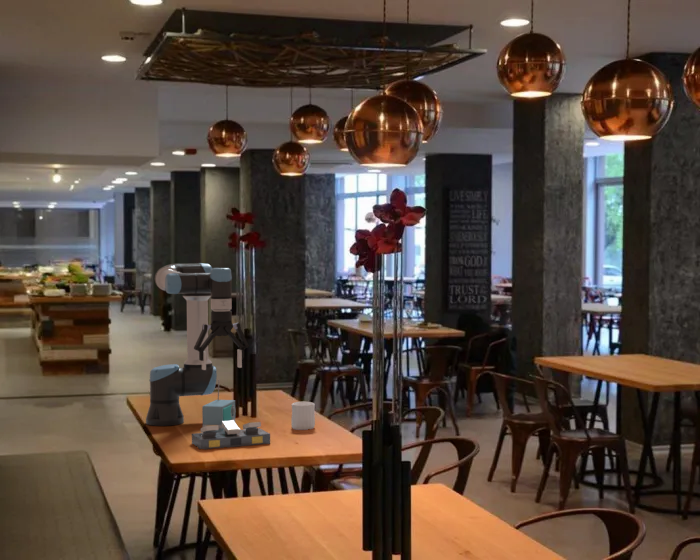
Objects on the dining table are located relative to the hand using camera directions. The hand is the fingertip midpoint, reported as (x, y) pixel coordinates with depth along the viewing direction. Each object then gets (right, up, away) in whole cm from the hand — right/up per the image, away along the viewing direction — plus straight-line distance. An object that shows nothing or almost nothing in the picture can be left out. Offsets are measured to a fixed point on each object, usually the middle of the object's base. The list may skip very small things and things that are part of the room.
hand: (221, 368), depth 367 cm
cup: (+28, -26, +30) cm, 49 cm away
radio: (-3, -27, +19) cm, 33 cm away
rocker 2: (+3, -21, 0) cm, 22 cm away
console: (+3, -27, 0) cm, 28 cm away
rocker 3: (+11, -21, +3) cm, 24 cm away
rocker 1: (-4, -22, -4) cm, 22 cm away
